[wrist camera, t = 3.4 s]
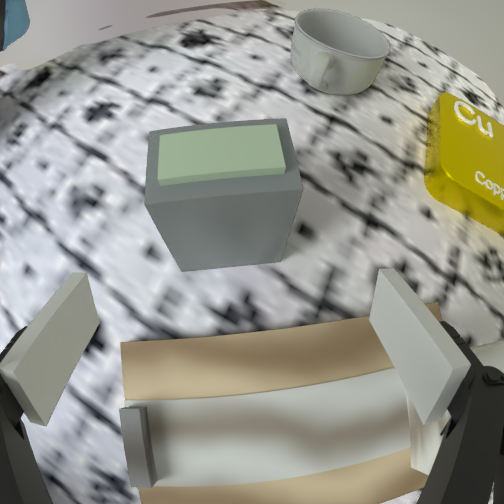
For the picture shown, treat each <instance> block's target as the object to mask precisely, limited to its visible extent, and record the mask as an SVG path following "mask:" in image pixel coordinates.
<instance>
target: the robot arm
mask: <svg viewBox="0 0 504 504" xmlns="http://www.w3.org/2000/svg"><path fill="white" fill-rule="evenodd" d="M29 25H30V19H29V15H28V11H27V7H26V3H25V0H0V51H4V50H5V49H6V48H7V46H8V45H10V44H11V43H13V42H14V41H16V40H17V39H19V38H20V37H22V36H23V35H24V34H25V33H26V31H27V30H28V28H29ZM369 321H370V323H371V324H372V326H373V328H374V330H375V332H376V334H377V335H378V337H379V339H380V341H381V343H382V345H383V346H384V348H385V350H386V352H387V354H388V356H389V358H390V360H391V362H392V363H393V365H394V367H395V369H396V371H397V373H398V375H399V377H400V379H401V381H402V383H403V385H404V387H405V389H406V391H407V393H408V395H409V397H410V399H411V401H412V403H413V405H414V407H415V409H416V411H417V413H418V415H419V417H420V419H421V421H422V423H423V425H425V424H429V423H433V422H436V421H440V420H441V419H442V417H443V415H444V414H445V412H446V410H448V412H449V413H450V415H451V418H450V419H449V421H448V422H447V424H446V425H445V427H444V429H443V430H442V432H441V433H440V435H441V436H442V435H443V434H444V435H443V438H442V441H441V444H440V447H439V450H438V453H437V456H436V458H435V461H434V464H433V466H432V469H431V471H430V474H429V476H428V479H427V481H426V484H425V486H424V488H423V491H422V493H421V495H420V497H419V499H418V502H417V504H488V501H489V497H490V494H491V490H492V486H493V482H494V494H493V504H504V373H503V372H501V371H500V370H499V369H497V368H495V367H493V366H483V364H482V363H481V362H480V360H479V359H478V358H477V357H476V355H475V354H474V353H473V351H472V350H471V349H470V347H469V346H468V345H467V344H465V341H464V340H463V339H462V337H461V338H460V335H459V334H458V332H457V331H456V330H455V329H454V328H453V327H452V326H450V325H449V324H448V323H446V322H445V321H440V322H438V320H437V319H436V318H435V317H434V315H433V314H432V313H431V312H430V310H429V309H428V308H427V307H426V306H425V304H424V303H423V302H422V301H421V300H420V298H419V297H418V296H417V295H416V294H415V292H414V291H413V290H412V289H411V288H410V286H409V285H408V284H407V283H406V282H405V281H404V279H403V278H402V277H401V276H400V275H399V274H398V273H397V271H396V270H395V269H394V268H391V269H379V272H378V277H377V283H376V288H375V293H374V298H373V303H372V307H371V312H370V317H369ZM99 323H100V322H99V318H98V315H97V311H96V308H95V304H94V300H93V296H92V292H91V288H90V284H89V280H88V276H87V273H72V274H71V275H70V277H69V278H68V279H67V280H66V281H65V282H64V283H63V285H62V286H61V287H60V288H59V289H58V290H57V292H56V293H55V294H54V295H53V296H52V297H51V299H50V300H49V301H48V302H47V303H46V305H45V306H44V307H43V308H42V309H41V311H40V312H39V313H38V314H37V316H36V317H35V318H34V319H33V321H32V322H31V323H30V324H29V326H25V327H24V328H23V329H21V330H20V331H18V332H17V333H16V334H15V335H14V337H13V338H12V339H11V341H10V343H8V345H7V346H6V347H5V349H4V350H3V351H2V352H1V354H0V504H53V502H52V500H51V498H50V496H49V493H48V491H47V489H46V486H45V484H44V481H43V479H42V476H41V474H40V471H39V468H38V466H37V463H36V460H35V457H34V454H33V451H32V449H31V445H30V442H29V439H28V436H27V433H26V429H25V426H24V423H23V422H22V420H21V419H20V418H21V416H22V414H23V412H24V413H25V414H26V416H27V417H28V419H29V420H30V422H32V423H35V424H39V425H43V426H47V424H48V422H49V420H50V418H51V415H52V413H53V411H54V409H55V407H56V405H57V403H58V401H59V399H60V397H61V395H62V393H63V391H64V389H65V387H66V385H67V383H68V381H69V379H70V377H71V375H72V373H73V371H74V369H75V367H76V365H77V363H78V361H79V359H80V358H81V356H82V354H83V352H84V350H85V348H86V346H87V345H88V343H89V341H90V339H91V337H92V336H93V334H94V332H95V330H96V328H97V327H98V325H99Z"/></svg>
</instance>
